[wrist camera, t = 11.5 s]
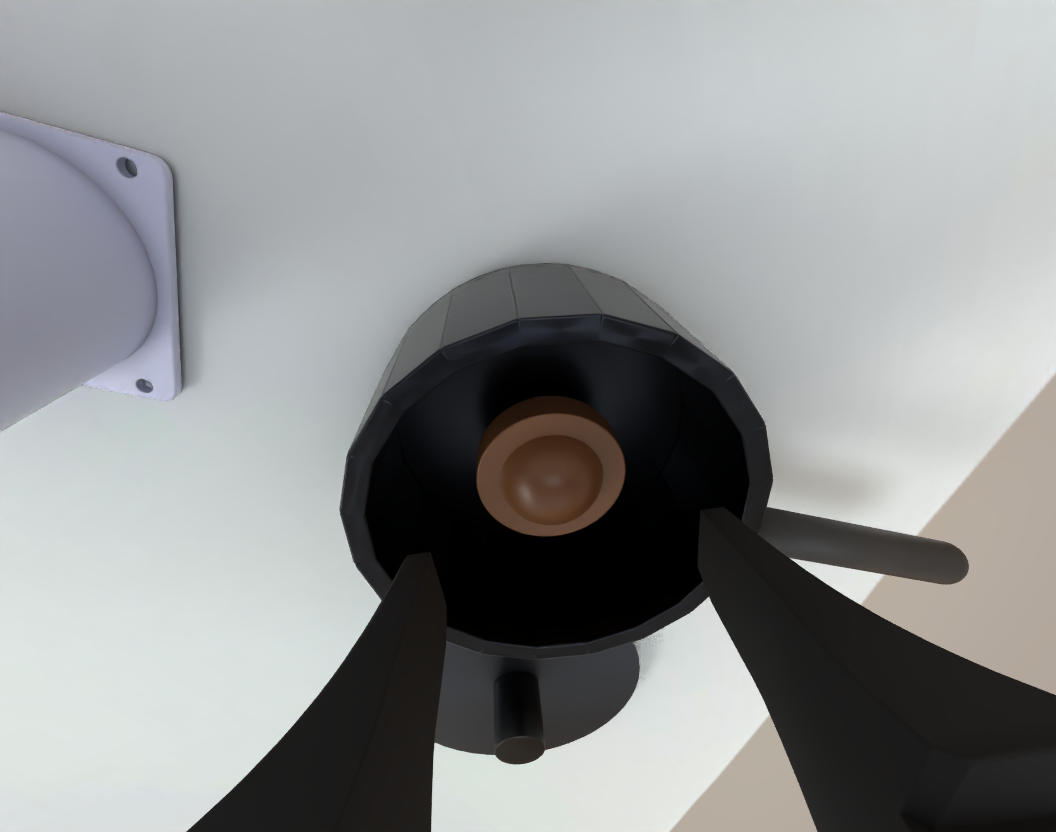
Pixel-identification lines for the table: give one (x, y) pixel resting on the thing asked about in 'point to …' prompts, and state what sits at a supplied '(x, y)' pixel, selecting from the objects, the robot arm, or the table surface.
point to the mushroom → (549, 466)
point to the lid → (530, 700)
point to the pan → (569, 371)
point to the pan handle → (863, 547)
